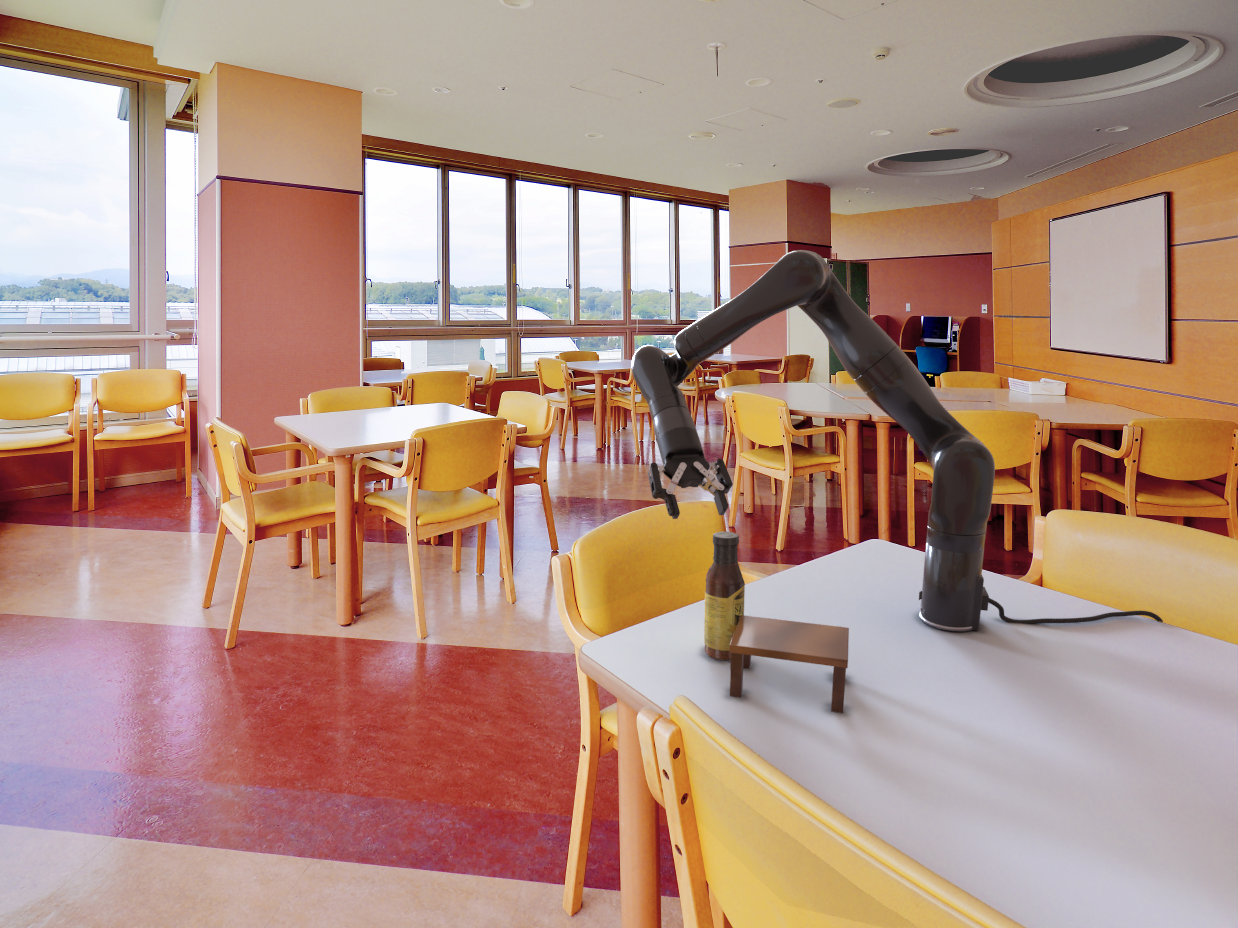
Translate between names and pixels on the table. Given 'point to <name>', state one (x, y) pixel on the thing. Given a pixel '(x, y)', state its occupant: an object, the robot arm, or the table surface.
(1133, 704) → the table surface
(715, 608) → the sauce bottle
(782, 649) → the small brown wooden table
